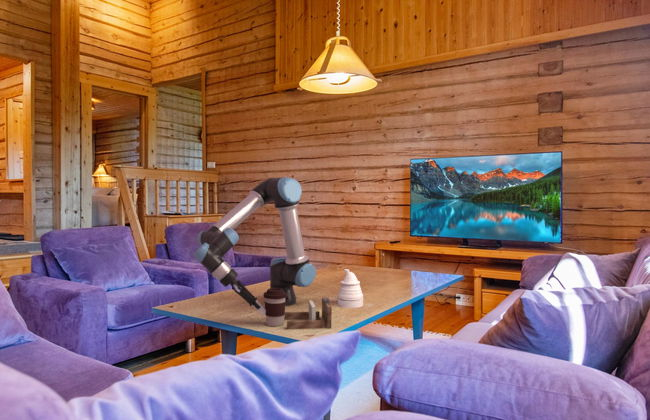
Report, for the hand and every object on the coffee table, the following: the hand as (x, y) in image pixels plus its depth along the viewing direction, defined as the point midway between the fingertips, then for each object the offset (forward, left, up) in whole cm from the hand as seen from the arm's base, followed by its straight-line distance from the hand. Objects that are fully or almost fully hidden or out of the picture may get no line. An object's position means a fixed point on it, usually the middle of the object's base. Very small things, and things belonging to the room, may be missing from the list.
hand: (264, 313), depth 196 cm
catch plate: (+16, +12, -5) cm, 21 cm away
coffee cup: (+3, +3, -5) cm, 7 cm away
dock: (+15, +11, -5) cm, 19 cm away
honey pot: (+17, +51, -5) cm, 54 cm away
